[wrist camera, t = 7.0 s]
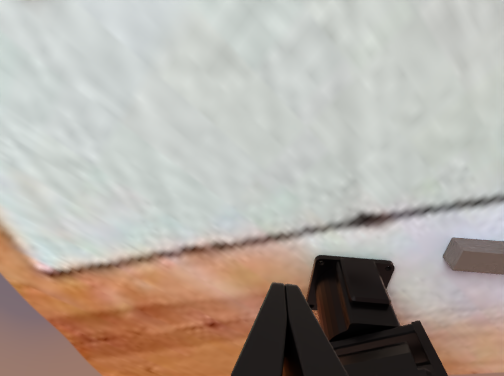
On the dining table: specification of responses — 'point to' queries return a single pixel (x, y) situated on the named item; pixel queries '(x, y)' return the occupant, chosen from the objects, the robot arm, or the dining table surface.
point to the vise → (475, 255)
